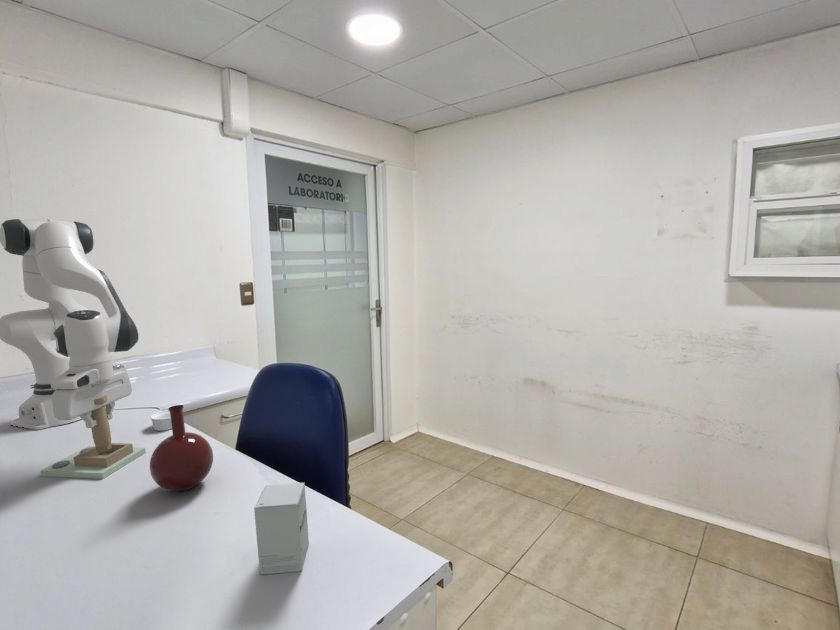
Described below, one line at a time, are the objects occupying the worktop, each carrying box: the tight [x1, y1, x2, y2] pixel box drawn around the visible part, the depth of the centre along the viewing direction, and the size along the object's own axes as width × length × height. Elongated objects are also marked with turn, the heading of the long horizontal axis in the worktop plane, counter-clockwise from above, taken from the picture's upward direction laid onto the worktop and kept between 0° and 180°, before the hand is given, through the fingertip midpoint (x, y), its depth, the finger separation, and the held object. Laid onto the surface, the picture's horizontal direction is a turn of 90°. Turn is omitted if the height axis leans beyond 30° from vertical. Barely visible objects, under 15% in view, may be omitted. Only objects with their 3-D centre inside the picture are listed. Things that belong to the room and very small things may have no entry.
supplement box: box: [253, 482, 310, 575], centre depth 76 cm, size 7×7×13 cm
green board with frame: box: [39, 442, 147, 480], centre depth 115 cm, size 18×14×4 cm
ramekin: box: [150, 409, 172, 432], centre depth 139 cm, size 9×9×4 cm
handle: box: [90, 395, 112, 453], centre depth 113 cm, size 5×6×15 cm
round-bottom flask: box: [149, 404, 214, 492], centre depth 101 cm, size 13×13×20 cm
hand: (99, 423), depth 113 cm, fingers closed on handle, 3 cm apart
